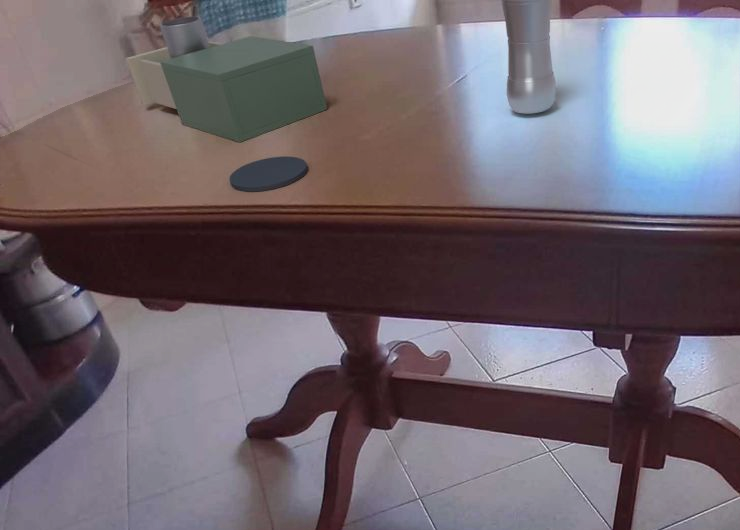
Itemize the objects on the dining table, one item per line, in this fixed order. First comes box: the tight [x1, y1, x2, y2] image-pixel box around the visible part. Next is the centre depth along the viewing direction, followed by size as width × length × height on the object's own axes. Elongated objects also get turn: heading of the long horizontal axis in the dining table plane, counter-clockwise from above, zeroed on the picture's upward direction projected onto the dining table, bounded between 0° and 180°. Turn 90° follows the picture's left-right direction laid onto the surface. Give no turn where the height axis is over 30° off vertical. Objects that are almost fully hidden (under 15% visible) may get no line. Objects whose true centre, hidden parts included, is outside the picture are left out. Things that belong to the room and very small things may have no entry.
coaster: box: [228, 156, 309, 193], centre depth 82 cm, size 9×9×1 cm
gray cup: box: [158, 16, 210, 58], centre depth 106 cm, size 6×6×10 cm
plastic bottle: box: [500, 0, 557, 115], centre depth 86 cm, size 6×7×20 cm
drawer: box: [124, 36, 225, 110], centre depth 109 cm, size 19×14×7 cm
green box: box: [160, 35, 328, 143], centre depth 99 cm, size 16×15×9 cm
